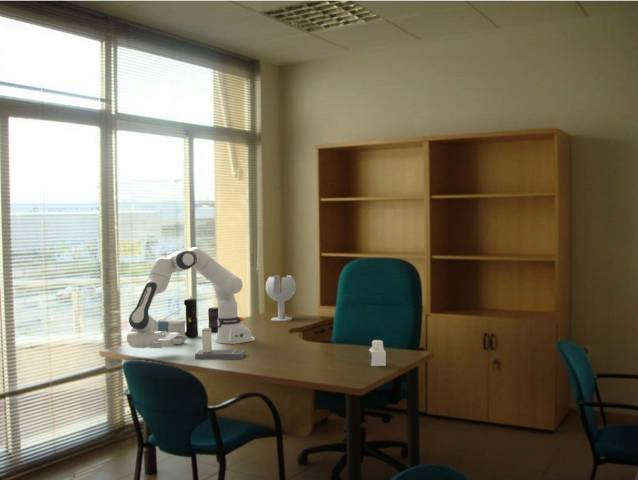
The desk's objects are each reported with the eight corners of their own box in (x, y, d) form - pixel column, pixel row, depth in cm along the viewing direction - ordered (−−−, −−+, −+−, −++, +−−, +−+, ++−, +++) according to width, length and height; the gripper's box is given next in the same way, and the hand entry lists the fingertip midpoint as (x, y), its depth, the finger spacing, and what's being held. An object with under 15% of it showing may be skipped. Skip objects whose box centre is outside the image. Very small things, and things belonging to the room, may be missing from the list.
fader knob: (202, 352, 351) (201, 329, 351) (204, 350, 357) (204, 328, 356) (209, 352, 351) (209, 329, 351) (211, 350, 356) (211, 328, 356)
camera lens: (223, 330, 430) (223, 307, 430) (217, 332, 423) (217, 308, 422) (212, 330, 433) (211, 306, 432) (206, 332, 425) (205, 308, 425)
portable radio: (193, 338, 407) (192, 296, 405) (184, 338, 408) (183, 296, 407) (198, 335, 414) (197, 294, 413) (189, 335, 415) (188, 294, 414)
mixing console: (195, 359, 349) (195, 354, 349) (200, 354, 360) (200, 349, 360) (241, 359, 347) (241, 353, 347) (245, 354, 358) (245, 349, 358)
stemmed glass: (263, 321, 462) (262, 277, 461) (270, 317, 482) (269, 274, 481) (292, 322, 459) (291, 277, 457) (298, 317, 479) (297, 274, 477)
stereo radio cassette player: (148, 343, 394) (147, 308, 393) (156, 340, 401) (156, 306, 400) (179, 345, 386) (178, 310, 385) (187, 342, 394) (186, 308, 393)
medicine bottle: (368, 363, 333) (368, 338, 333) (383, 362, 334) (383, 338, 333) (371, 366, 326) (371, 341, 326) (386, 365, 327) (385, 341, 326)
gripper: (151, 337, 345) (178, 337, 344) (163, 330, 365) (189, 330, 364) (152, 349, 345) (179, 349, 344) (164, 341, 366) (189, 341, 365)
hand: (184, 339), depth 354 cm, fingers open, 8 cm apart
